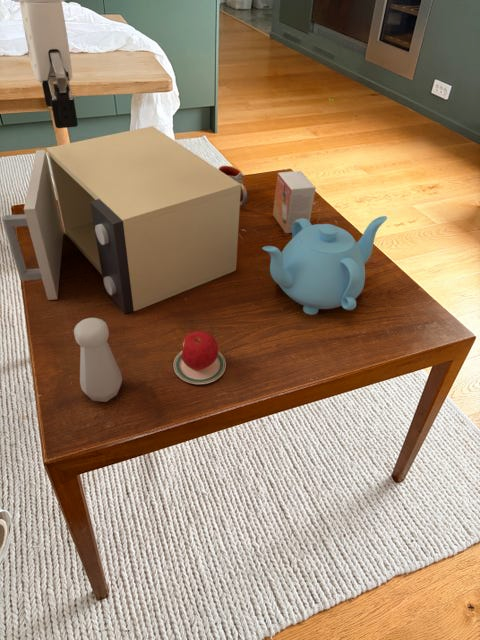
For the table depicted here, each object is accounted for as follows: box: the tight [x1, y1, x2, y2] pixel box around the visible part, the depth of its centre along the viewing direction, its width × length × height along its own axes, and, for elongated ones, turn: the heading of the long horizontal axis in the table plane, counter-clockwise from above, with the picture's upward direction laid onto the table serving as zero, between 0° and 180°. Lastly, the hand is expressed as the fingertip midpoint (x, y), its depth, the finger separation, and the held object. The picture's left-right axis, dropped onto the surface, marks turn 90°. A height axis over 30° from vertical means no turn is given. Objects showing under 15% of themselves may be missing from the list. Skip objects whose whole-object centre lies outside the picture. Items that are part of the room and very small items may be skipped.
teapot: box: [261, 215, 388, 316], centre depth 87 cm, size 16×20×14 cm
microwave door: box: [1, 149, 64, 301], centre depth 88 cm, size 6×22×18 cm, turn 12°
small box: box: [272, 170, 317, 234], centre depth 107 cm, size 8×6×10 cm
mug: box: [217, 165, 248, 208], centre depth 114 cm, size 12×7×7 cm, turn 25°
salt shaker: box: [73, 317, 123, 403], centre depth 68 cm, size 6×6×13 cm
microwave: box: [46, 125, 241, 315], centre depth 93 cm, size 24×30×18 cm
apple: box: [173, 330, 227, 385], centre depth 74 cm, size 8×8×6 cm
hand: (61, 115), depth 78 cm, fingers open, 9 cm apart
